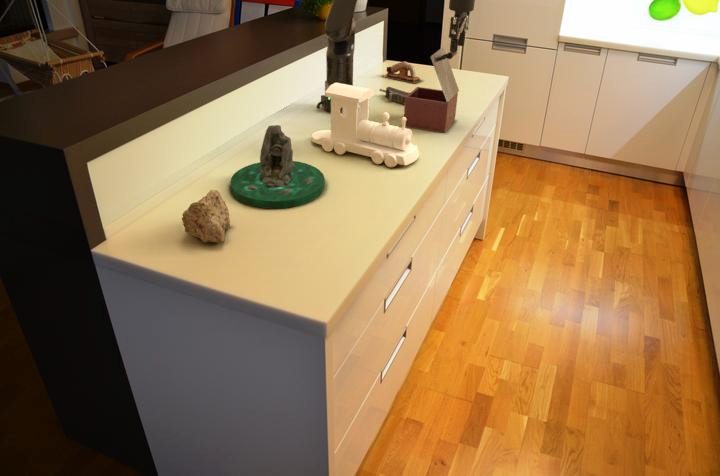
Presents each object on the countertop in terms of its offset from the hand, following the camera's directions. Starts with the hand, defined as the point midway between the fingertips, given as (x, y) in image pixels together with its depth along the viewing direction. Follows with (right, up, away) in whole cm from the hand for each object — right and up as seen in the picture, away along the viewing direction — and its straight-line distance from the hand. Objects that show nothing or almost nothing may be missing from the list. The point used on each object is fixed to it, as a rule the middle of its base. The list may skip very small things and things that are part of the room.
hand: (456, 48), depth 189 cm
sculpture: (-13, +6, +60) cm, 62 cm away
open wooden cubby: (-7, -21, +15) cm, 27 cm away
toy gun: (-10, -10, +34) cm, 36 cm away
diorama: (-52, -46, -29) cm, 75 cm away
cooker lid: (-3, -7, +6) cm, 9 cm away
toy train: (-30, -33, -7) cm, 45 cm away
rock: (-64, -58, -50) cm, 100 cm away
